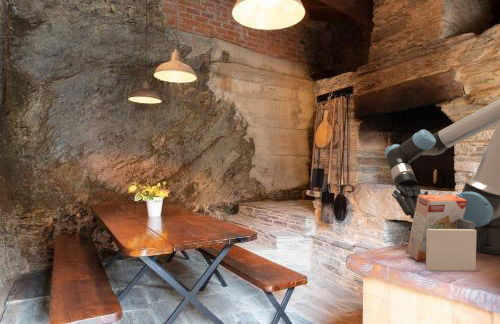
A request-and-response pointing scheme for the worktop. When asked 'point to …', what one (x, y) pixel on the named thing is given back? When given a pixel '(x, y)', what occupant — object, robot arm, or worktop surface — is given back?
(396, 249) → the worktop surface
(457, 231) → the shelf bookend
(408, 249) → the cracker box
